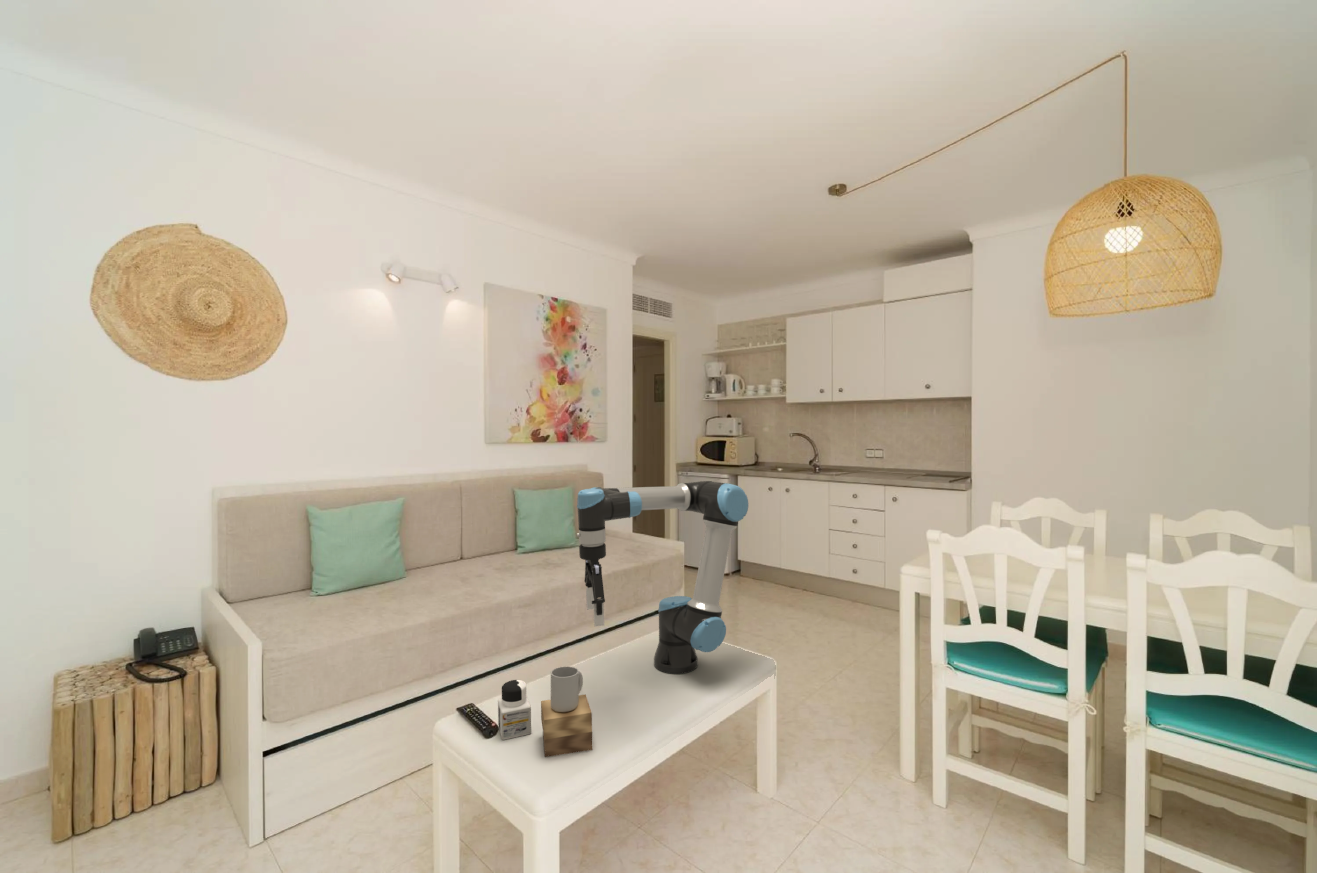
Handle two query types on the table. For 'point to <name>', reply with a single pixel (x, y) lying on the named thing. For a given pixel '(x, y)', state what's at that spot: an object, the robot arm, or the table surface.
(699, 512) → the robot arm
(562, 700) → the cup
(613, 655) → the table surface
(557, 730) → the slab upper
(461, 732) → the table surface
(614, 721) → the table surface
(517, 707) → the container
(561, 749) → the slab lower
